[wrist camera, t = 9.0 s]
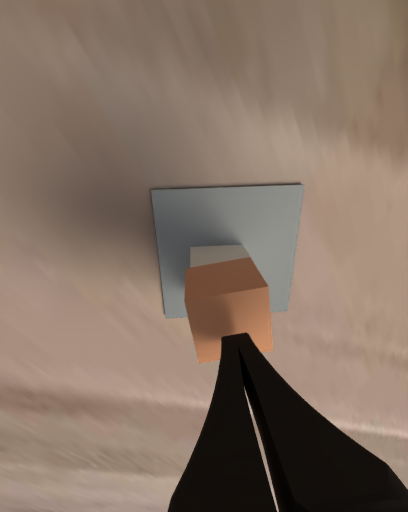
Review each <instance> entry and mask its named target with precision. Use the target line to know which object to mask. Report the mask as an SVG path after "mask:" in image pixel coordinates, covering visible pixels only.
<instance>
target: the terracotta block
mask: <svg viewBox="0 0 408 512" xmlns="http://www.w3.org/2000/svg"><path fill="white" fill-rule="evenodd" d="M184 302H185V307H186V311H187V315H188V319H189V323H190V327H191V331H192V336H193V340H194V344H195V348H196V352H197V356H198V360H199V363H204V362H210V361H215V360H220V357H221V338H222V337H223V336H228V335H234V334H240V333H245V332H247V333H248V334H249V335H250V337H251V339H252V340H253V342H254V343H255V345H256V346H257V348H258V349H259V350H260V352H261V353H262V352H267V351H273V343H272V328H271V313H270V298H269V286H268V284H267V283H266V281H265V280H264V278H263V277H262V275H261V273H260V272H259V270H258V269H257V267H256V266H255V264H254V262H253V261H252V259H251V258H250V257H247V258H241V259H236V260H230V261H225V262H219V263H213V264H208V265H202V266H197V267H191V268H186V271H185V295H184Z"/></svg>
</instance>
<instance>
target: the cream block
mask: <svg viewBox="0 0 408 512" xmlns="http://www.w3.org/2000/svg"><path fill="white" fill-rule="evenodd" d="M247 257H250V255H249V253H248V252H247V250H246V249H245V247H244V246H243V244H242V245H220V246H199V247H190V268H191V267H197V266H202V265H208V264H213V263H219V262H225V261H230V260H236V259H241V258H247ZM250 258H251V257H250ZM251 259H252V258H251ZM252 261H253V260H252ZM253 262H254V261H253ZM254 264H255V263H254Z"/></svg>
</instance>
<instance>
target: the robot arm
mask: <svg viewBox="0 0 408 512" xmlns="http://www.w3.org/2000/svg"><path fill="white" fill-rule="evenodd" d="M244 387H245V389H244ZM245 390H246V393H247V396H248V399H249V402H250V405H251V408H252V411H253V415H254V418H255V421H256V424H257V427H258V430H259V433H260V436H261V440H262V443H263V447H264V451H265V455H266V459H267V463H268V468H269V472H270V476H271V480H272V484H273V488H274V492H275V497H276V501H277V505H278V509H279V512H408V489H407V488H406V487H405V486H404V484H403V483H402V482H401V480H400V479H399V478H398V477H397V475H396V474H395V473H394V472H393V471H392V469H391V468H390V467H389V466H388V465H387V463H385V462H384V461H382V460H381V459H379V458H378V457H376V456H375V455H374V454H372V453H371V452H369V451H368V450H366V449H365V448H364V447H362V446H361V445H359V444H358V443H357V442H355V441H354V440H353V439H351V438H350V437H349V436H347V435H346V434H345V433H343V432H342V431H341V430H339V429H338V428H337V427H336V426H334V425H333V424H332V423H331V422H330V421H328V420H327V419H326V418H325V417H324V416H322V415H321V414H320V413H319V412H317V411H316V410H315V409H314V408H313V407H312V406H311V405H309V404H308V403H307V402H306V401H305V400H304V399H303V398H302V397H301V396H300V395H299V394H298V393H297V392H296V391H294V390H293V389H292V388H291V386H290V385H289V384H288V383H287V382H286V381H285V380H284V379H283V378H282V377H281V376H280V375H279V374H278V373H277V371H276V370H275V369H274V368H273V367H272V366H271V364H270V363H269V362H268V361H267V359H266V358H265V357H264V356H263V354H262V353H261V352H260V350H259V349H258V348H257V346H256V345H255V343H254V342H253V340H252V339H251V337H250V335H249V334H248V333H247V332H245V333H240V334H234V335H228V336H223V337H222V338H221V357H220V365H219V371H218V376H217V381H216V385H215V390H214V394H213V397H212V401H211V404H210V408H209V411H208V414H207V417H206V420H205V423H204V425H203V428H202V431H201V434H200V436H199V439H198V441H197V444H196V446H195V448H194V451H193V453H192V455H191V458H190V460H189V462H188V464H187V467H186V469H185V471H184V473H183V475H182V477H181V479H180V481H179V483H178V485H177V487H176V489H175V491H174V493H173V495H172V497H171V501H170V504H169V508H168V512H277V510H276V506H275V503H274V499H273V496H272V492H271V489H270V485H269V481H268V478H267V474H266V470H265V467H264V463H263V460H262V456H261V452H260V448H259V445H258V441H257V437H256V433H255V430H254V426H253V422H252V418H251V414H250V410H249V406H248V402H247V398H246V395H245Z"/></svg>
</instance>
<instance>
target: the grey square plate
mask: <svg viewBox="0 0 408 512" xmlns="http://www.w3.org/2000/svg"><path fill="white" fill-rule="evenodd" d="M304 186H305V185H303V184H295V185H267V186H239V187H211V188H183V189H155V190H151V194H152V203H153V212H154V220H155V229H156V238H157V247H158V255H159V264H160V273H161V282H162V290H163V299H164V308H165V317H166V318H183V317H188V315H187V311H186V307H185V302H184V295H185V271H186V268H190V247H199V246H220V245H242V244H243V246H244V247H245V249H246V250H247V252H248V253H249V255H250V257H251V258H252V260H253V261H254V263H255V266H256V267H257V269H258V270H259V272H260V273H261V275H262V277H263V278H264V280H265V281H266V283H267V284H268V286H269V298H270V312H284V311H288V304H289V297H290V289H291V282H292V274H293V267H294V260H295V252H296V245H297V238H298V230H299V223H300V215H301V208H302V201H303V193H304Z"/></svg>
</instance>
